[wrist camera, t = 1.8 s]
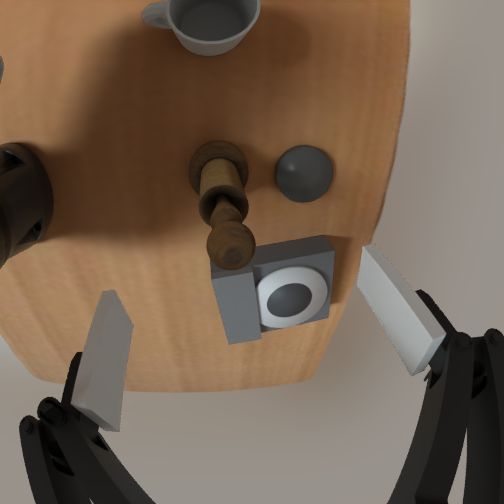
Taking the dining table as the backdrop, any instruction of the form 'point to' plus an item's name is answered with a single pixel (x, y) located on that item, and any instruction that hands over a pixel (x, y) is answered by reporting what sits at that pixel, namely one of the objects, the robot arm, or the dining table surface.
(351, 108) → the dining table surface
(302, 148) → the dark grey dome
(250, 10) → the cup
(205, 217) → the brown wooden pepper mill
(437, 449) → the robot arm
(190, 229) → the dining table surface
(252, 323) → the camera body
